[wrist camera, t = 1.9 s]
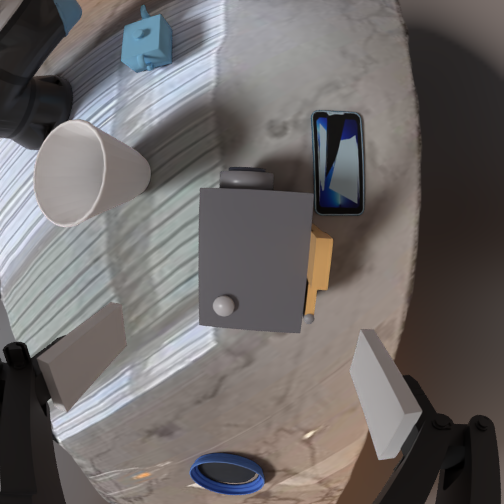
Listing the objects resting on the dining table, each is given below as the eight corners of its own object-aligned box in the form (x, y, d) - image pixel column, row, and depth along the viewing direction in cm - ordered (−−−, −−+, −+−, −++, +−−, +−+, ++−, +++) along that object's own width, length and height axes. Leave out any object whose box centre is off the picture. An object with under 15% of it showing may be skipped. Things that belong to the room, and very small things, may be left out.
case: (219, 170, 39) (199, 164, 28) (305, 174, 38) (315, 169, 27) (215, 295, 43) (198, 327, 32) (295, 301, 42) (300, 335, 32)
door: (302, 221, 39) (316, 237, 26) (313, 222, 39) (333, 238, 25) (296, 293, 41) (304, 339, 28) (306, 293, 41) (319, 340, 28)
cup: (175, 145, 38) (120, 124, 23) (154, 222, 41) (94, 241, 25) (112, 132, 38) (46, 115, 23) (95, 202, 41) (26, 212, 26)
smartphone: (314, 215, 39) (310, 110, 35) (313, 214, 40) (309, 111, 36) (364, 215, 38) (361, 112, 34) (362, 214, 39) (359, 114, 35)
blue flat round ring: (182, 468, 55) (178, 478, 52) (211, 441, 51) (208, 452, 47) (242, 491, 56) (240, 500, 52) (279, 467, 52) (279, 478, 48)
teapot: (142, 27, 34) (123, 8, 27) (174, 18, 33) (159, -4, 26) (139, 82, 36) (116, 66, 29) (173, 73, 36) (155, 54, 28)
